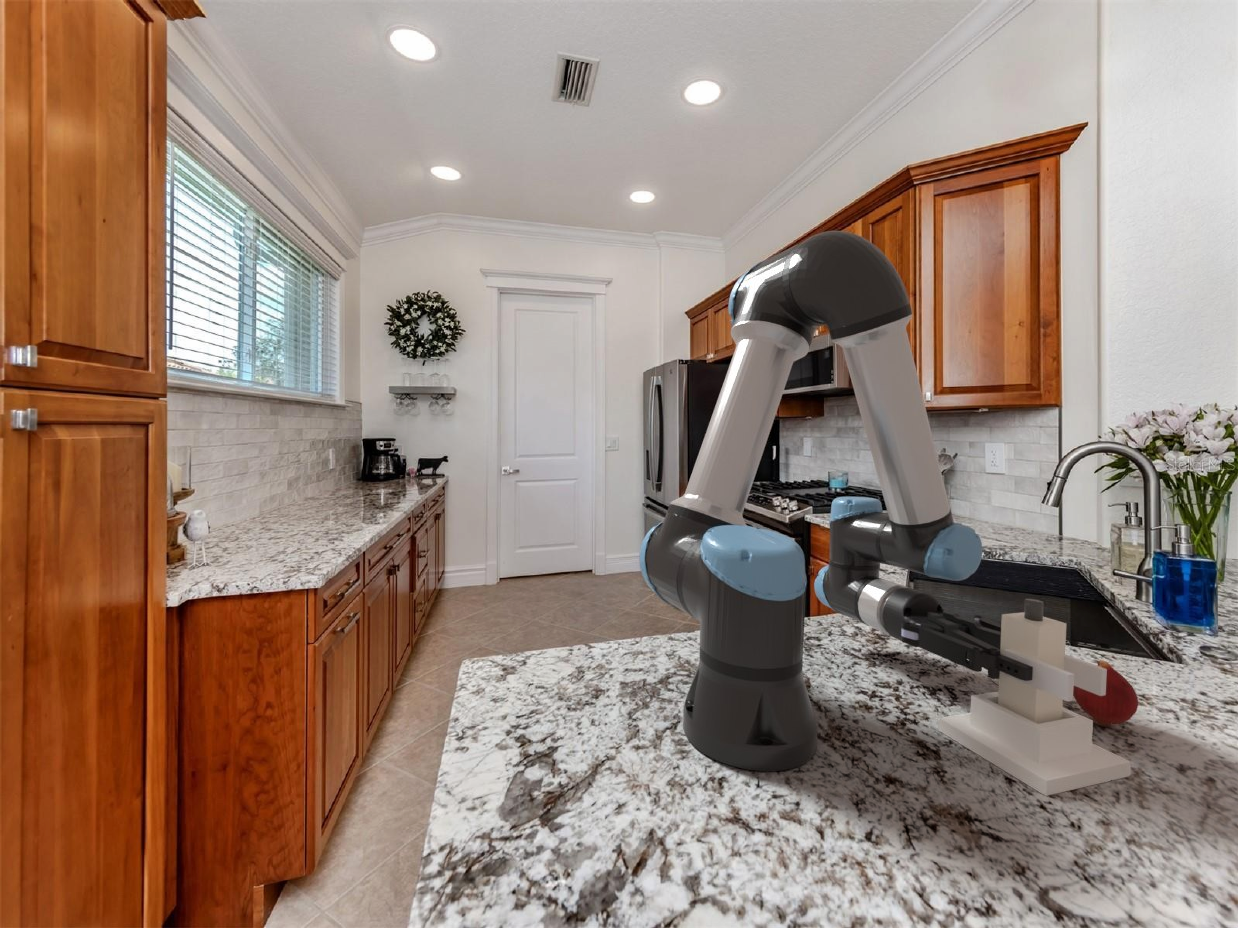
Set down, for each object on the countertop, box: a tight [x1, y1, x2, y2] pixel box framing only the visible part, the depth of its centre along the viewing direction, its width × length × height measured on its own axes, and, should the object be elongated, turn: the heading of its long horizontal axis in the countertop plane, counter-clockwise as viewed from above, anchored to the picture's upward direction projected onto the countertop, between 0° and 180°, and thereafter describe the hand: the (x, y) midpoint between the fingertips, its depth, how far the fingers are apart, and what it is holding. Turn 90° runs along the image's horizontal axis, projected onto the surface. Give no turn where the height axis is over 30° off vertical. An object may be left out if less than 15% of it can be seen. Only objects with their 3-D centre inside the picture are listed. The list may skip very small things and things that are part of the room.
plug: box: [998, 598, 1067, 724], centre depth 57 cm, size 4×4×14 cm
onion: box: [1073, 660, 1139, 727], centre depth 63 cm, size 6×6×8 cm
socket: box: [937, 690, 1132, 797], centre depth 57 cm, size 12×12×5 cm
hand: (1086, 685), depth 52 cm, fingers closed on plug, 4 cm apart
